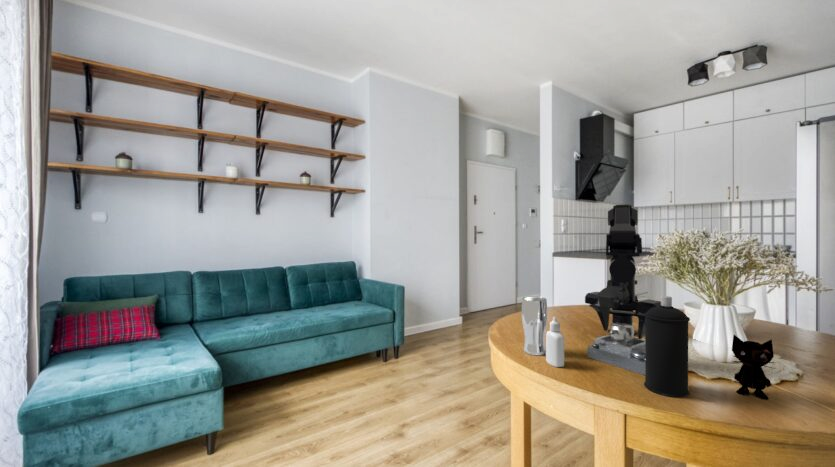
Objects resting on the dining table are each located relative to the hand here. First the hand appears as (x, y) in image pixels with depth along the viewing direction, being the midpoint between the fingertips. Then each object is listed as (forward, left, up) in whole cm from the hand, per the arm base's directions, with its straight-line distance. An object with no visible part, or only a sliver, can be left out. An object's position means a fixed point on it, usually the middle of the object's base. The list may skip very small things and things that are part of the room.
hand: (622, 334), depth 101 cm
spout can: (+1, 0, -3) cm, 3 cm away
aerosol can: (+12, +16, -6) cm, 21 cm away
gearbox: (+1, +3, -6) cm, 7 cm away
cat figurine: (0, +27, -6) cm, 28 cm away
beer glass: (+16, -16, -6) cm, 23 cm away
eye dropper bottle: (+19, -7, -6) cm, 21 cm away
